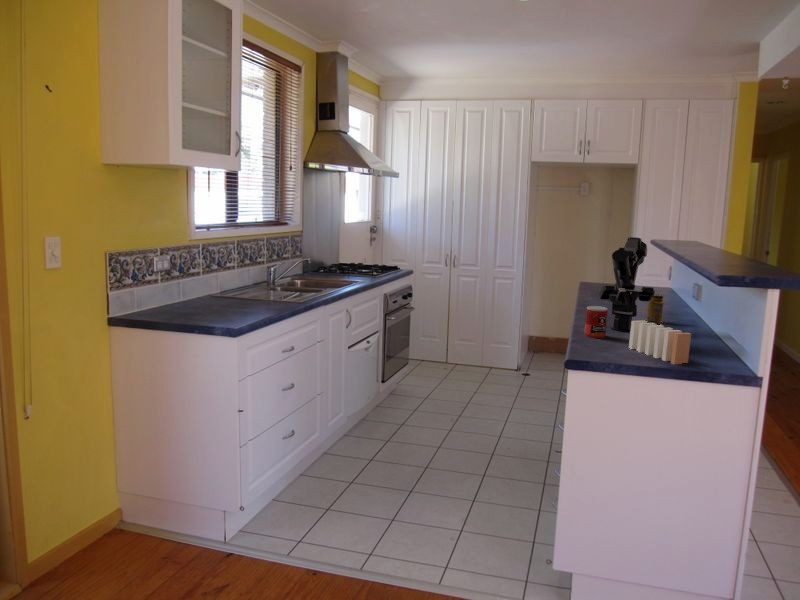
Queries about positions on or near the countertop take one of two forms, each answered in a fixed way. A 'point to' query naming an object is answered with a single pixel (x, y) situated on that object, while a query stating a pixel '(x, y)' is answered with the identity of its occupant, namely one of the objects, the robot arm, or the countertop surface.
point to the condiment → (655, 309)
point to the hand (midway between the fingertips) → (631, 312)
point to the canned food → (596, 321)
